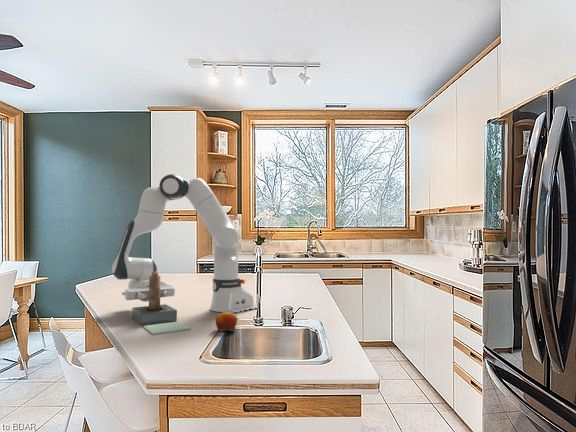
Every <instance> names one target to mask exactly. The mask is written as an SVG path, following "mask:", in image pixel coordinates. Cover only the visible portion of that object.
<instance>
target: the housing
mask: <svg viewBox="0 0 576 432" xmlns="http://www.w3.org/2000/svg"><path fill="white" fill-rule="evenodd" d="M131 309H132V310H131V312H132V313H131V315H132V316H131V318H132V320H133V321H135V323H137V324H138V325H140V326H141V327H144V326H147V325H155V324H163V323H171V322H178V321H177V320H178V319H177V318H178V311H177V309H175V308H174V307H172V306H170V305H168V304H166V303H163V304H160V310H155V311H149V305H146V306H145V305H144V306H135V307H132V308H131Z"/></svg>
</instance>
